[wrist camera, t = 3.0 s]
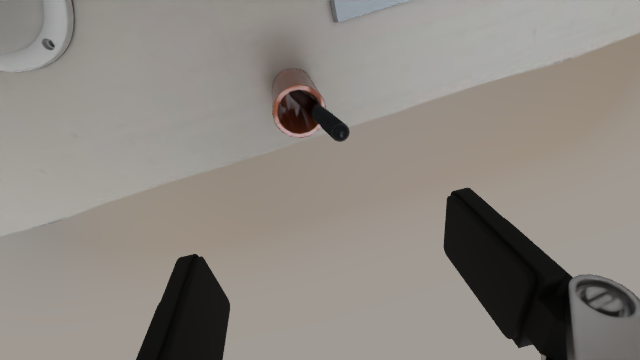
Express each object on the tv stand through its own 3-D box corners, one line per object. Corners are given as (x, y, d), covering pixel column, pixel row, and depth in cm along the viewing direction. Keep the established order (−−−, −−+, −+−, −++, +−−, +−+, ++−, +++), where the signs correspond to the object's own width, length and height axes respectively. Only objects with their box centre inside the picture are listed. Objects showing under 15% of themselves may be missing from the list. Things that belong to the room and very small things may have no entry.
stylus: (289, 98, 29) (336, 146, 18) (286, 87, 29) (333, 129, 17) (300, 95, 29) (353, 141, 18) (297, 84, 29) (350, 123, 17)
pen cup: (278, 114, 31) (280, 143, 24) (267, 73, 28) (265, 92, 21) (317, 105, 31) (330, 130, 24) (308, 63, 28) (320, 79, 22)
